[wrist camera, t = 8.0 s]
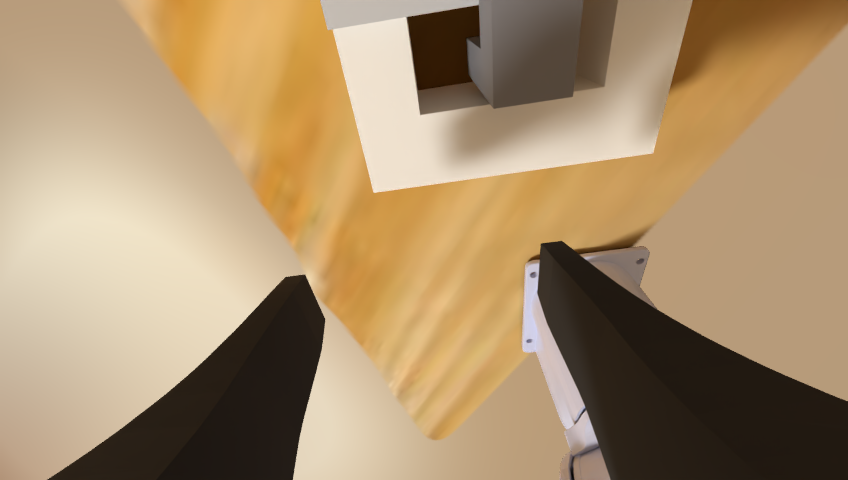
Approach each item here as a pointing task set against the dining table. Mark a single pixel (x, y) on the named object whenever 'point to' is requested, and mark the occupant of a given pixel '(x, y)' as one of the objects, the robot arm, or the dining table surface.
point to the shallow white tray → (515, 125)
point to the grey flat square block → (525, 50)
